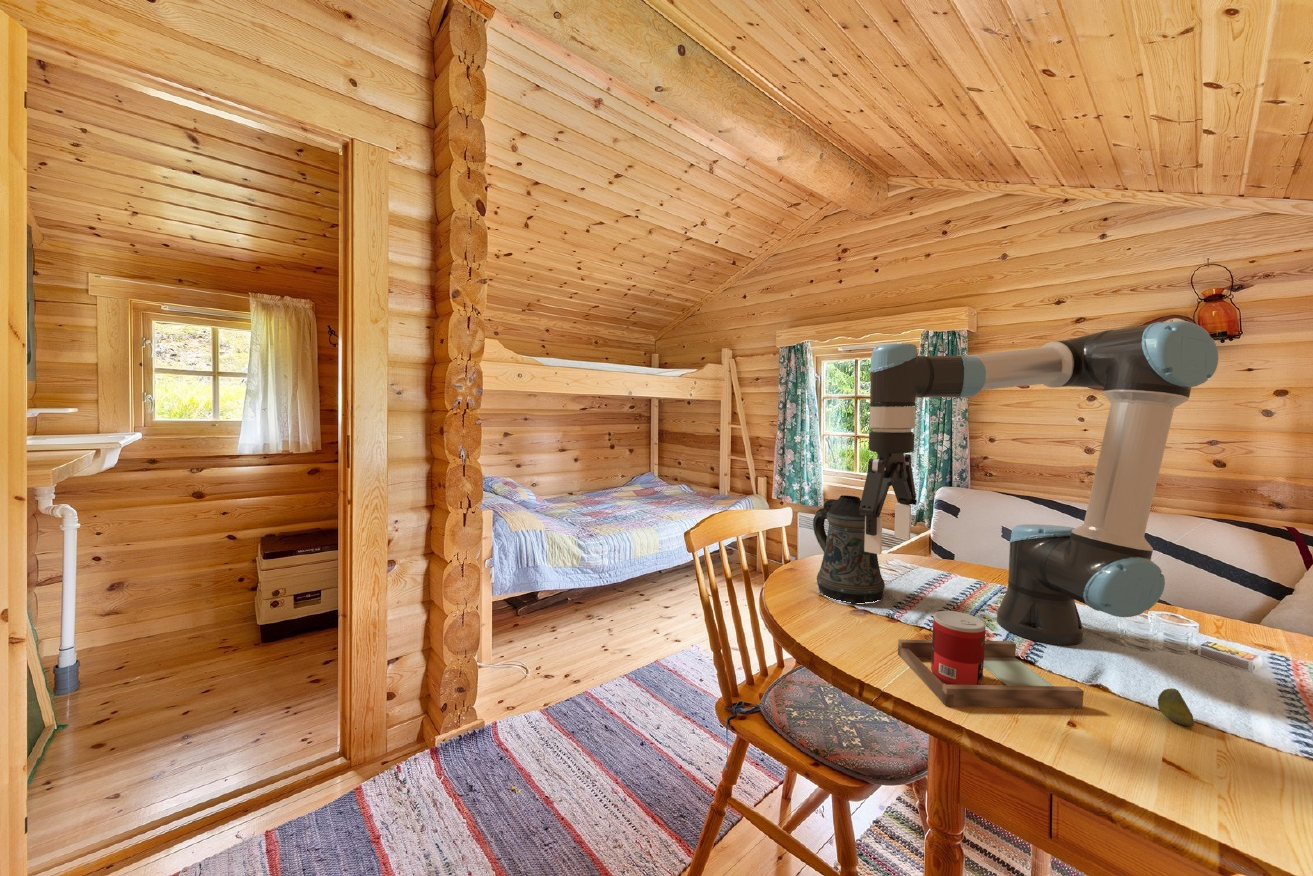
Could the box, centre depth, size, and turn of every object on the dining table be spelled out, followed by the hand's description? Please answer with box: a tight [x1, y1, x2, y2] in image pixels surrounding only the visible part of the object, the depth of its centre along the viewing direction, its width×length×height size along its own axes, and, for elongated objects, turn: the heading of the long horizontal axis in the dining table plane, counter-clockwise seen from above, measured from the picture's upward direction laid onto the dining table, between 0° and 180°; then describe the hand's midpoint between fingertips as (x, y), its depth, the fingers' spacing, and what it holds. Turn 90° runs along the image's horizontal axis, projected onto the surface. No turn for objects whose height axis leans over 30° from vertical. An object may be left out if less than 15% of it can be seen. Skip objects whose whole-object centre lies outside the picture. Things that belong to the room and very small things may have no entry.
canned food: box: [930, 610, 986, 685], centre depth 90 cm, size 8×8×11 cm
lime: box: [1157, 688, 1195, 727], centre depth 79 cm, size 4×5×5 cm
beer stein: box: [812, 494, 886, 603], centre depth 131 cm, size 16×19×25 cm
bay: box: [897, 638, 1085, 710], centre depth 90 cm, size 22×17×3 cm
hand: (888, 544), depth 93 cm, fingers open, 13 cm apart
